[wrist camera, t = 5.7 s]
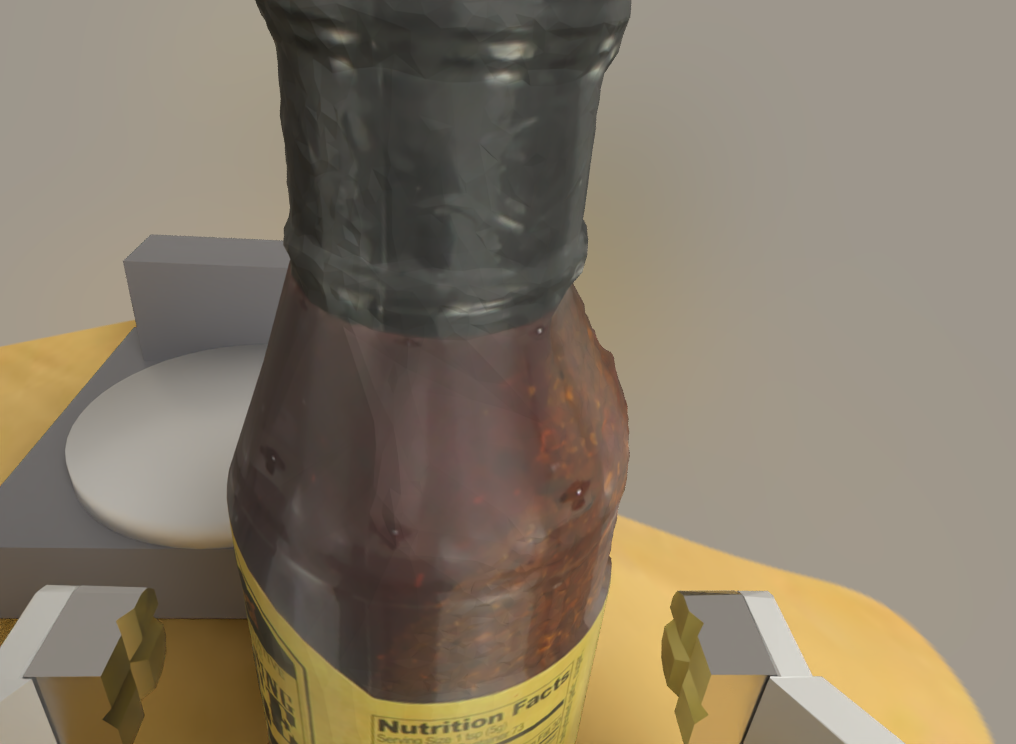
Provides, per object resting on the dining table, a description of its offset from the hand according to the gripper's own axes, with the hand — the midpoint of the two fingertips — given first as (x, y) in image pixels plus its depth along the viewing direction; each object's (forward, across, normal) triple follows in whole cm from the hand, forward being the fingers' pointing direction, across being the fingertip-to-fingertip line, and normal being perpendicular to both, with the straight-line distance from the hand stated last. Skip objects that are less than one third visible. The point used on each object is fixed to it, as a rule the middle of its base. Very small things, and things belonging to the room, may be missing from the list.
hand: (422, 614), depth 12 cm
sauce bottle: (+1, 0, +10) cm, 10 cm away
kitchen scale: (+15, +7, +10) cm, 20 cm away
